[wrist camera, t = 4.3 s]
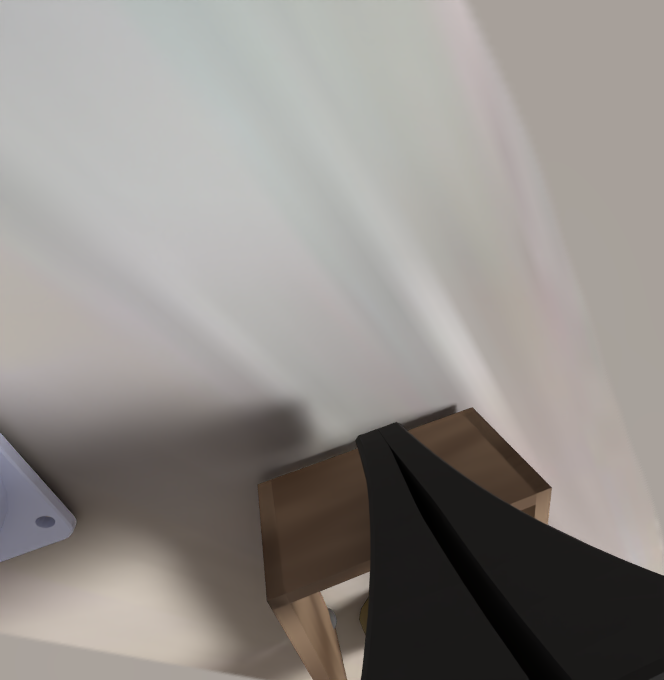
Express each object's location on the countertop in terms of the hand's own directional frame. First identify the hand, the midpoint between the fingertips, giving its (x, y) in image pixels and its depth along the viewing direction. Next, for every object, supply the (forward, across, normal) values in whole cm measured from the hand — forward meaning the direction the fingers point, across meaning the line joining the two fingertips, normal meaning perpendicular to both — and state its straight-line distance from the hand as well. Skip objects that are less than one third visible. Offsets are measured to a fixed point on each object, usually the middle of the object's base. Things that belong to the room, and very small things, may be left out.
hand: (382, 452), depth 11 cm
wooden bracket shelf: (+2, 0, +7) cm, 7 cm away
